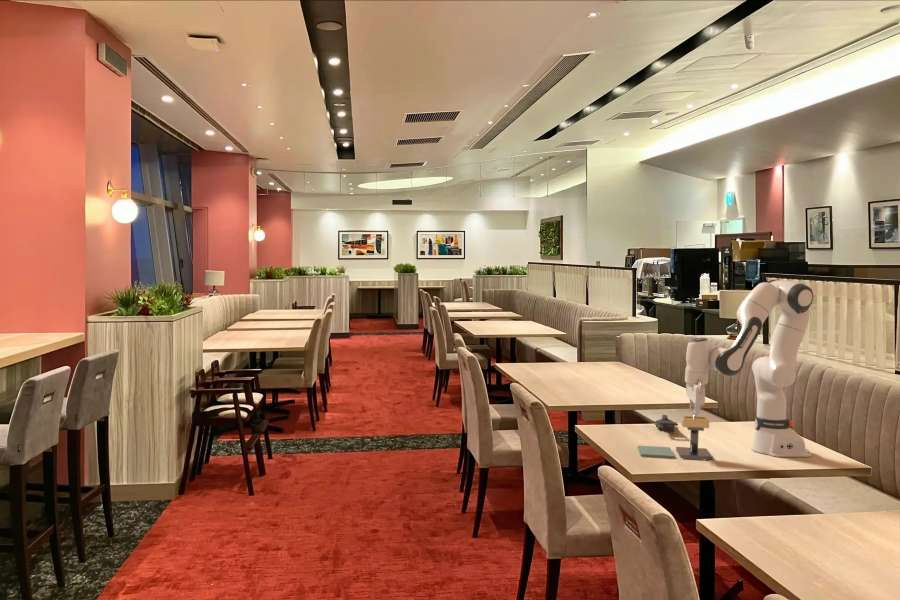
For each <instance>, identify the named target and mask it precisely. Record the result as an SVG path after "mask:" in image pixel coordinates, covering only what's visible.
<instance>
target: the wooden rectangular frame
mask: <svg viewBox="0 0 900 600" xmlns="http://www.w3.org/2000/svg"><path fill="white" fill-rule="evenodd" d="M680 425H681V426H682V427H683V428H687V427H693V428H704V429H709V428H710V419H709V418H708V417H707V416H699V415H697V418H693V415H681V416H680Z"/></svg>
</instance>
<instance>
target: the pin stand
mask: <svg viewBox="0 0 900 600" xmlns="http://www.w3.org/2000/svg"><path fill="white" fill-rule="evenodd" d="M692 416H693V418H697V416H698V415H695V414H693V415H692ZM686 429H687V430H688V431H690V438H689V439H690V440H689V441H690V443H689V447H687V446H685V447H684V446H683V447H682V446H675V447H676V448H675V451H676V452H677V454H678V456H679V457H680V459H681V458H686V459H685V460H697V459H705V460H704V461H713V455H712V454H711V453H710V451H709V450H708V449H707V448H704V447H703V448H702V447H701V448H700V447H699V431H700V432H704V431H705V428H693V427H686Z"/></svg>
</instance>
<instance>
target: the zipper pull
mask: <svg viewBox="0 0 900 600" xmlns="http://www.w3.org/2000/svg"><path fill="white" fill-rule="evenodd" d="M655 425H656V427H657V428H658V429H657V428H656V427H655V428H656V429H657V431H659V430H660V431H659V432H662V431H666V432H665V433H674V432H675V427H678V426H679V424H678V423H677V422H675V421H673V420H672V419H669V417H668V415H667V414H662V415H661V418H659V419H657V420H655V421H654V426H655ZM673 431H674V432H673Z"/></svg>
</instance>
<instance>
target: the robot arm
mask: <svg viewBox="0 0 900 600" xmlns="http://www.w3.org/2000/svg"><path fill="white" fill-rule="evenodd" d="M813 301H814V291H813V289H812V288H811V287H810V286H808V285H806V284H804V283H801V282H800V283H799V282H796V281H792V280H781V279H777V278H776V279H771V280H768V281H766V282H765V281H764V282H760V283H758V284H757V285H756V286H755V287H753V289H752V290H751V291H749V292H748V294H747V295H746V297H744V299H743V300H742V302H741V303H740V304H739V306H738V308H737V311H736V319H737V321H738V322H739V324H740V326H741V329H740V332H739V334H738V335H737V337H736V339H735V341H734V342H733V344H732V345H731V346H730V347H728V348H725V347H722V346H720V345H717V344H715V343H713V342H711V341H710V340H709V339H708V338H705V337H696V338H692V339H691V340H689V341H688V343H687V347H686V354H685V361H686V367H685V369H684V370H685V371H684V372H685V373H684V382H685V393H686V396H687V397H688V399H689V409H690V410H691V411H692V410H693V412H694V415H697V416H699V415H700V412H701V408H702V406H705V404H706V388H705V385H707V384H709V371H710V370H714V371H716V372H719V373H721V374H723V375H724V376H729V377H731V376H733V377H734V376H735V375H737V374H739V373H740V372H741V371H742V369H743V368H744V365H745V361H746V358H747V355H748V354H749V352H750V350H751V348H752V347H753V345H754V344H755V342H756V340H757V338H758V337H759V335H760V333H761V330H762V328H763V325H764V323H765V321H766V320H767V319H768V316H770V314H771V313H772V310H773V309H774V308H775V307H776V306H777V307H780V308H781V314H780V316H779V318H778V320H777V323H776V325H775V327H774V330H773V333H772V334H771V337H770V341H769V344H770V348H769V355H768V356H767V355H766V356H760V357H757V358H756V359H755V360H754V361H753V362H752V365H751V371H752V372H753V376H754V384H755V389H756V399H757V401H756V415H755V419H754V430H755V431H754V436H753V437H754V438H753V442H752V445H751V450H752V451H755V452H757V453H761V454H764V455H768V456H772V457H779V458H787V457H788V458H790V457H791V458H792V457H793V458H810V457H812V452H811V451H810V450H809V449H808V448H806V444H805V440H804V438H803V437H802V436H801V435H800V434H798V433H797V431H795V430H794V429H793V428H791V427H794V426H795V424H796V423H795V421H793V420H790V419H788V418H787V397H786V396H785V391H784V388H788V387H790V386H792V385H793V384H794V383H795V380H797V379H796V378H797V372H796V364H797V357H798V351H799V348H800V346H801V344H802V341H803V339H804V336H805V333H806V331H807V328H808V326H809V321H810V317H811V310H810V307H811V305H812V304H813Z"/></svg>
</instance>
